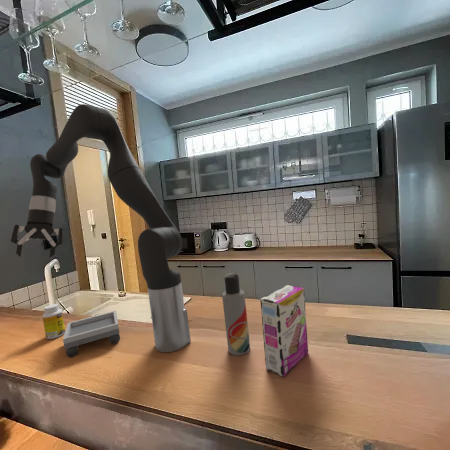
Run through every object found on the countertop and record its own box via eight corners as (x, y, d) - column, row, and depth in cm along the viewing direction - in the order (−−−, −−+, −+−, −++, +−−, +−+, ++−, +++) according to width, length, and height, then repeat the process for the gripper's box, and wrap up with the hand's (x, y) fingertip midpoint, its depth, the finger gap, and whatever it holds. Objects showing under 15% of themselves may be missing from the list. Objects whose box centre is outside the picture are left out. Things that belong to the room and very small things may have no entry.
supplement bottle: (61, 337, 85) (56, 307, 84) (42, 341, 83) (37, 310, 82) (68, 329, 90) (63, 301, 89) (50, 333, 89) (45, 304, 88)
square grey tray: (118, 327, 88) (115, 310, 87) (120, 342, 77) (118, 323, 76) (70, 340, 82) (67, 322, 81) (66, 359, 71) (62, 339, 70)
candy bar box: (284, 379, 54) (277, 303, 53) (265, 369, 58) (258, 298, 56) (310, 353, 62) (304, 287, 61) (291, 346, 66) (286, 283, 64)
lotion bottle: (249, 356, 63) (240, 276, 62) (226, 355, 65) (217, 277, 63) (251, 343, 69) (243, 270, 67) (230, 343, 70) (222, 271, 68)
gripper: (14, 205, 84) (6, 255, 81) (65, 211, 91) (60, 257, 88) (18, 210, 91) (11, 256, 88) (66, 215, 98) (60, 258, 95)
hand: (35, 257), depth 88 cm, fingers open, 8 cm apart
